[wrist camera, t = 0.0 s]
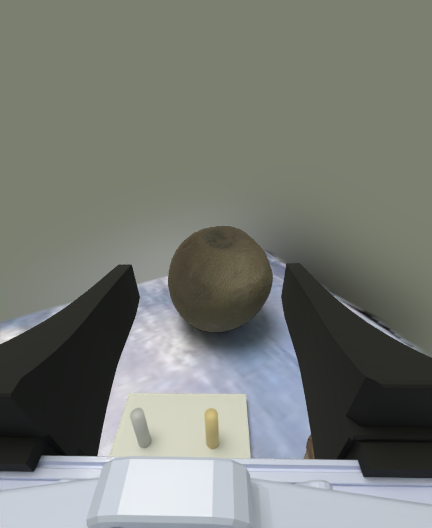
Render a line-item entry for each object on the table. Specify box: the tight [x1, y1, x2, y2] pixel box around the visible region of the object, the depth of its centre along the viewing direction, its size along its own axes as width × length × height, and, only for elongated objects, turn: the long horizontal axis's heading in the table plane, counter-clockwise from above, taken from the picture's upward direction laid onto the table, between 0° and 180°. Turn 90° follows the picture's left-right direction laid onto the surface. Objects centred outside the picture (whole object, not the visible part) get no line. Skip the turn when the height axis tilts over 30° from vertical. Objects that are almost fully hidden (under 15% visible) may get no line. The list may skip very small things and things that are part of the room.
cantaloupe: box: [168, 226, 273, 332], centre depth 38 cm, size 14×14×15 cm
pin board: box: [109, 393, 251, 459], centre depth 25 cm, size 10×13×6 cm
